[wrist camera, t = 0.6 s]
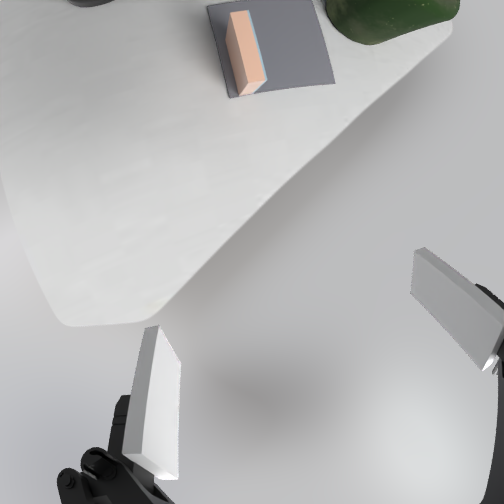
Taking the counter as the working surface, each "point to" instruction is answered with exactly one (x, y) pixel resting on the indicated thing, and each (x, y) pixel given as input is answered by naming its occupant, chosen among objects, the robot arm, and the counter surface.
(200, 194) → the counter surface
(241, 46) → the tile
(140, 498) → the robot arm
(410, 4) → the green bottle
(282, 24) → the mat
